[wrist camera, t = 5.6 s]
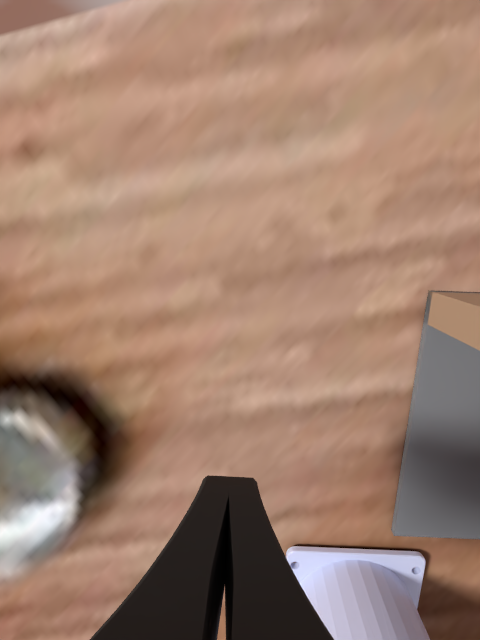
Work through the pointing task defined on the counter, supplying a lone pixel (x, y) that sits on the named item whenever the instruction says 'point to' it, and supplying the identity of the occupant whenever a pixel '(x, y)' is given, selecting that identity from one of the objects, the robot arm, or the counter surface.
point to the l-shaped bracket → (443, 425)
